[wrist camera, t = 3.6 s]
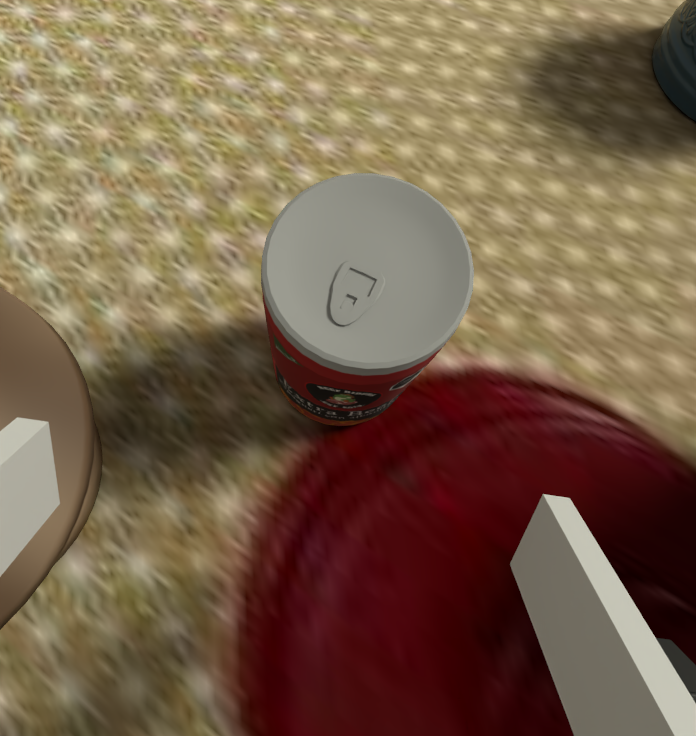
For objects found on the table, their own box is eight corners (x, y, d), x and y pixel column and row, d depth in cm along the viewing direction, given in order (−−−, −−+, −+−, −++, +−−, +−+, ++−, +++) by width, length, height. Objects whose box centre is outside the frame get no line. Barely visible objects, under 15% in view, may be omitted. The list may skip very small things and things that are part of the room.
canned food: (260, 417, 25) (236, 347, 14) (288, 288, 27) (285, 150, 17) (397, 440, 25) (469, 389, 15) (412, 312, 28) (482, 191, 17)
